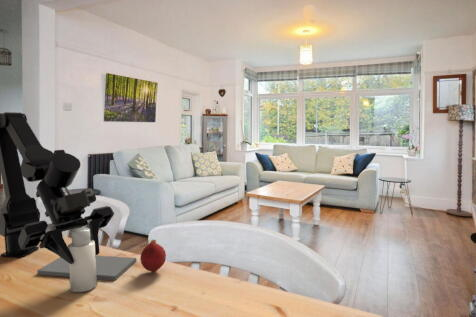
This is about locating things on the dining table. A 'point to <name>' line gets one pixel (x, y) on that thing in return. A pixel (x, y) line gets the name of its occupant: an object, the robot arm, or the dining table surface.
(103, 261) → the slate board
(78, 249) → the white bottle
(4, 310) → the dining table surface
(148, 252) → the onion
